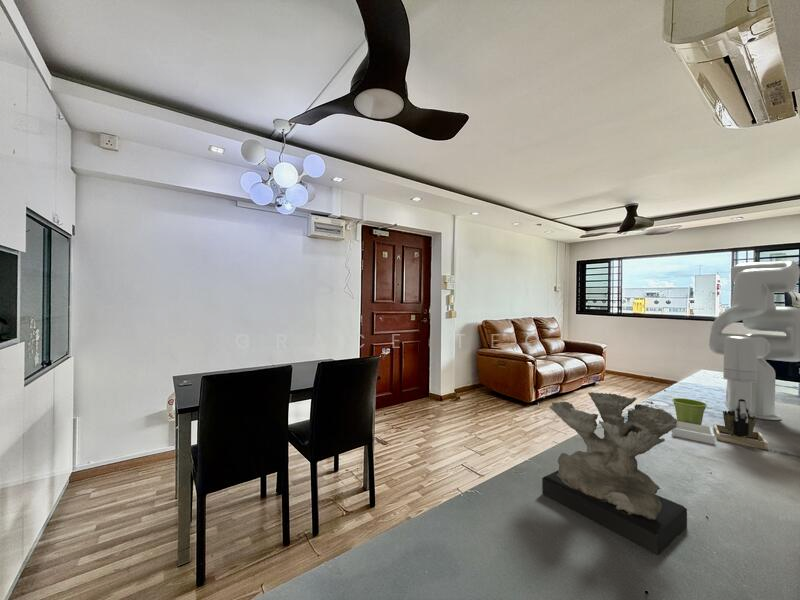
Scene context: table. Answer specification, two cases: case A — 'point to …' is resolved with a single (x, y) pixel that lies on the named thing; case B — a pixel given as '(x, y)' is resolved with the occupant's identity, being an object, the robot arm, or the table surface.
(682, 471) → the table surface
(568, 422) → the coral
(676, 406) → the plant pot
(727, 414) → the cup
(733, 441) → the birch frame
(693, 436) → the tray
